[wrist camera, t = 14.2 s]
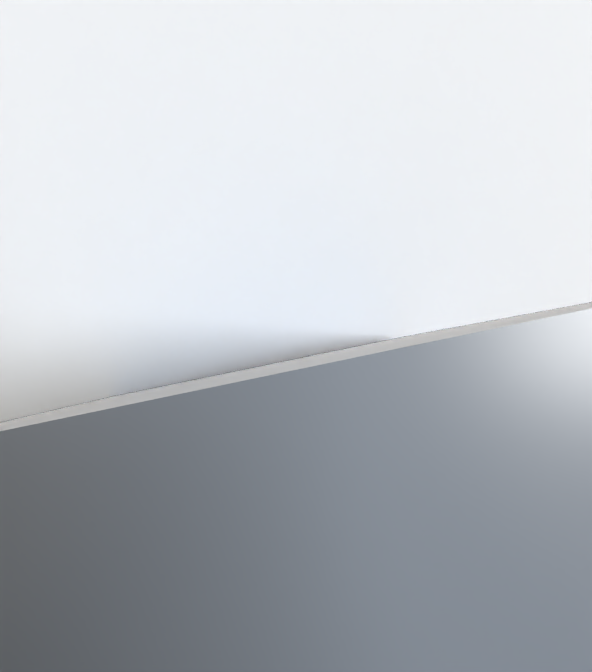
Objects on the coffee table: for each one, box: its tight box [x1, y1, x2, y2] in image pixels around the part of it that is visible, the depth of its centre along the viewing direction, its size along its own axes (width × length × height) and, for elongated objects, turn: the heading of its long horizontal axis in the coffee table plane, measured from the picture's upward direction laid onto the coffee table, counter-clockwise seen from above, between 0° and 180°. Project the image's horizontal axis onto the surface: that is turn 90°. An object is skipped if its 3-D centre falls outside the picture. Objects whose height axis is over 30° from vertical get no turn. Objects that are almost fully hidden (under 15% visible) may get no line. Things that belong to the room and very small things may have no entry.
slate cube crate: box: [0, 302, 592, 672], centre depth 7 cm, size 8×8×9 cm
